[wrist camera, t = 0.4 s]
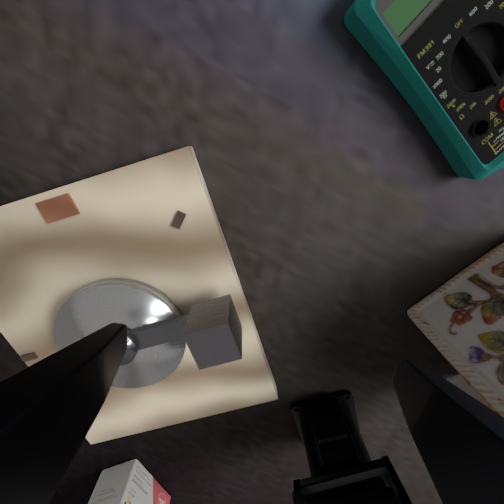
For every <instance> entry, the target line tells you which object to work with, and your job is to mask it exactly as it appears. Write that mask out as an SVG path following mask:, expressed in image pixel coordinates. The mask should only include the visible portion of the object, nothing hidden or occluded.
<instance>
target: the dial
mask: <svg viewBox="0 0 504 504" xmlns="http://www.w3.org/2000/svg"><path fill="white" fill-rule="evenodd" d="M110 323H123V324H126V326H127V348H126V352H125V355H124V357H123V360H122V362H121V364H120V367H119V369H118V372H117V374H116V376H115V379H114V381H113V383H112V387H118V388H140V387H145V386H150V385H153V384H156V383H158V382H160V381H162V380H164V379H165V378H167V377H168V376H170V375H171V374H172V373H173V372H174V371H175V370H176V369H177V367H178V366H179V364H180V363H181V361H182V359H183V356H184V352H185V348H186V345H187V346H188V348H189V350H190V352H191V354H192V356H193V358H194V360H195V362H196V364H197V366H198V368H199V370H201V369H205V368H209V367H213V366H217V365H221V364H224V363H228V362H232V361H236V360H240V359H242V325H241V322H240V319H239V317H238V314H237V311H236V309H235V306H234V303H233V301H232V298H231V295H230V294H229V295H225V296H222V297H218V298H214V299H211V300H207V301H203V302H200V303H196V304H192V306H191V309H190V313H189V314H187V315H183V314H182V312H181V310H180V309H179V307H178V306H177V305H176V304H175V303H174V301H173V300H172V299H171V298H169V297H168V296H167V295H166V294H165V293H163V292H162V291H160V290H159V289H157V288H155V287H153V286H151V285H149V284H146V283H143V282H141V281H137V280H133V279H126V278H108V279H102V280H98V281H95V282H92V283H90V284H88V285H86V286H84V287H82V288H81V289H80V290H78V291H77V292H76V293H75V294H74V295H73V296H71V297H70V298H69V299H68V300H67V301H66V302H65V303H64V304H63V305H62V307H61V308H60V310H59V311H58V314H57V316H56V319H55V323H54V336H55V340H56V344H57V346H58V348H59V350H61V349H63V348H65V347H67V346H68V345H70V344H72V343H74V342H76V341H78V340H80V339H82V338H84V337H86V336H87V335H89V334H91V333H93V332H95V331H97V330H99V329H101V328H103V327H104V326H106V325H108V324H110Z"/></svg>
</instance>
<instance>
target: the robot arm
mask: <svg viewBox="0 0 504 504" xmlns="http://www.w3.org/2000/svg"><path fill="white" fill-rule="evenodd" d="M126 348H127V326H126V324H123V323H110V324H108V325H106V326H104V327H103V328H101V329H99V330H97V331H95V332H93V333H91V334H89V335H87V336H86V337H84V338H82V339H80V340H78V341H76V342H74V343H72V344H70V345H68V346H67V347H65V348H63V349H61V350H59V351H57V352H55V353H53V354H51V355H49V356H48V357H46V358H44V359H42V360H40V361H38V362H36V363H34V364H32V365H31V366H29V367H27V368H25V369H23V370H21V371H19V372H17V373H15V374H13V375H12V376H10V377H8V378H6V379H4V380H2V381H0V504H49V502H50V500H51V498H52V497H53V495H54V493H55V491H56V489H57V488H58V486H59V484H60V482H61V480H62V478H63V477H64V475H65V473H66V471H67V469H68V468H69V466H70V464H71V462H72V460H73V459H74V457H75V455H76V453H77V451H78V449H79V448H80V446H81V444H82V442H83V440H84V439H85V437H86V435H87V433H88V431H89V430H90V428H91V426H92V424H93V422H94V420H95V419H96V417H97V415H98V413H99V411H100V410H101V408H102V406H103V404H104V402H105V400H106V397H107V395H108V393H109V390H110V388H111V386H112V383H113V381H114V379H115V376H116V374H117V372H118V369H119V367H120V364H121V362H122V360H123V357H124V355H125V352H126ZM392 382H393V386H394V389H395V392H396V394H397V397H398V400H399V403H400V406H401V408H402V411H403V414H404V417H405V419H406V422H407V425H408V427H409V430H410V433H411V435H412V437H413V439H414V442H415V444H416V446H417V448H418V450H419V453H420V455H421V457H422V459H423V461H424V463H425V466H426V468H427V470H428V472H429V474H430V476H431V479H432V481H433V483H434V485H435V487H436V490H437V492H438V494H439V496H440V498H441V500H442V503H443V504H504V417H502V416H501V415H499V414H498V413H496V412H495V411H493V410H491V409H490V408H488V407H487V406H485V405H484V404H482V403H481V402H479V401H478V400H476V399H475V398H473V397H472V396H470V395H468V394H467V393H465V392H464V391H462V390H461V389H459V388H458V387H456V386H455V385H453V384H452V383H450V382H449V381H447V380H445V379H444V378H442V377H441V376H439V375H438V374H436V373H435V372H433V371H432V370H430V369H429V368H427V367H426V366H424V365H422V364H421V363H419V362H418V361H416V360H413V359H405V358H404V359H401V360H400V362H399V364H398V366H397V368H396V371H395V373H394V375H393V378H392ZM291 411H292V414H293V417H294V420H295V423H296V426H297V429H298V432H299V435H300V438H301V440H302V443H303V445H305V449H306V454H307V459H308V464H309V468H310V473H311V477H309V478H306V479H302V480H300V479H297V480H294V481H293V482H294V491H293V494H292V495H293V502H294V504H412V503H411V501H410V499H409V497H408V495H407V493H406V491H405V489H404V487H403V485H402V483H401V481H400V479H399V477H398V475H397V473H396V471H395V470H394V468H393V466H392V464H391V462H390V460H389V458H388V456H383V457H381V459H377V460H373V461H371V459H370V456H369V454H368V451H367V449H366V446H365V444H364V442H363V439H362V437H361V434H360V430H359V426H358V421H357V416H356V411H355V406H354V401H353V397H352V394H351V392H349V391H344V392H340V393H336V394H332V395H328V396H324V397H319V398H315V399H311V400H307V401H303V402H299V403H294V404H292V405H291Z"/></svg>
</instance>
